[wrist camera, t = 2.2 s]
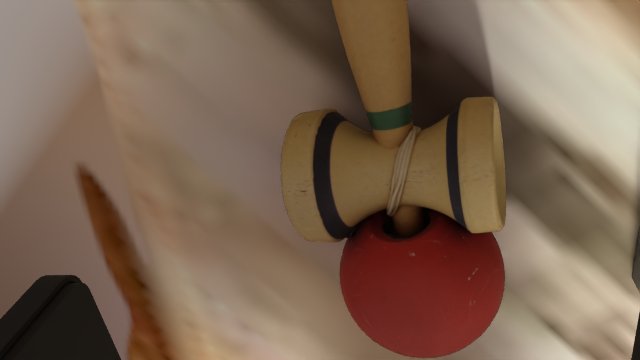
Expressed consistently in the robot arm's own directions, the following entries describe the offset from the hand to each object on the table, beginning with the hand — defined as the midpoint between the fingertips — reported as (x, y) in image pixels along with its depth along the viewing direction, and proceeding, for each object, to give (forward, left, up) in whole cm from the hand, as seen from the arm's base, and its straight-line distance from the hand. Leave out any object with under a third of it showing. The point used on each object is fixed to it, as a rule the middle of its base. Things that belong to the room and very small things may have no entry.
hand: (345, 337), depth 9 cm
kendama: (0, 0, -13) cm, 13 cm away
